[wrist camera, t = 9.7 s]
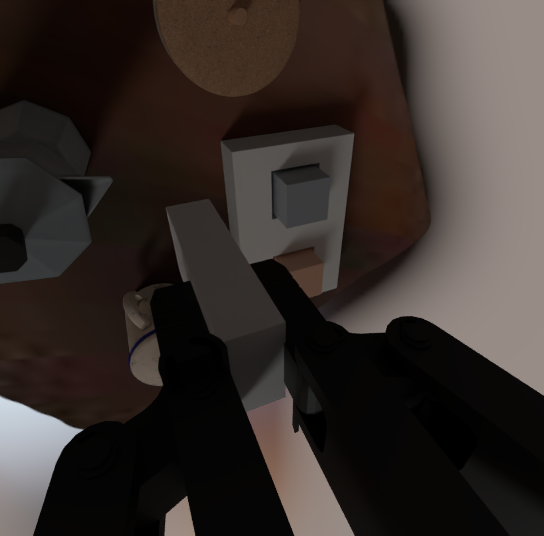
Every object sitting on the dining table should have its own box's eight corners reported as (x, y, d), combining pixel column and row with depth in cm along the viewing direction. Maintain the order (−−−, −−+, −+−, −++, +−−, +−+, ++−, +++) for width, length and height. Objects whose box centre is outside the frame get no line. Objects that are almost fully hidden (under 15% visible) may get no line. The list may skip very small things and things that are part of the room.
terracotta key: (272, 253, 46) (286, 272, 42) (307, 245, 47) (324, 262, 44) (273, 284, 49) (286, 304, 45) (306, 275, 50) (321, 293, 47)
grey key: (270, 170, 39) (287, 185, 36) (311, 163, 41) (330, 177, 37) (271, 211, 42) (286, 228, 39) (309, 203, 44) (327, 219, 40)
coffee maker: (75, 74, 30) (64, 129, 17) (129, 167, 36) (153, 263, 23) (-107, 144, 28) (-282, 269, 15) (-19, 230, 34) (-88, 377, 21)
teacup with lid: (206, 308, 50) (231, 372, 42) (151, 344, 50) (165, 415, 41) (155, 251, 42) (172, 315, 34) (89, 293, 42) (89, 368, 33)
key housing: (220, 140, 38) (231, 152, 35) (335, 124, 42) (354, 133, 39) (236, 296, 51) (245, 314, 48) (323, 272, 55) (336, 287, 52)
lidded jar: (285, -3, 33) (338, -5, 26) (226, 104, 36) (259, 128, 29) (181, -110, 27) (213, -150, 20) (121, 32, 30) (131, 40, 23)
